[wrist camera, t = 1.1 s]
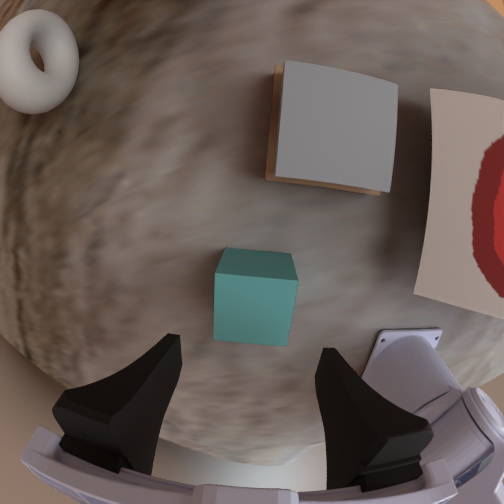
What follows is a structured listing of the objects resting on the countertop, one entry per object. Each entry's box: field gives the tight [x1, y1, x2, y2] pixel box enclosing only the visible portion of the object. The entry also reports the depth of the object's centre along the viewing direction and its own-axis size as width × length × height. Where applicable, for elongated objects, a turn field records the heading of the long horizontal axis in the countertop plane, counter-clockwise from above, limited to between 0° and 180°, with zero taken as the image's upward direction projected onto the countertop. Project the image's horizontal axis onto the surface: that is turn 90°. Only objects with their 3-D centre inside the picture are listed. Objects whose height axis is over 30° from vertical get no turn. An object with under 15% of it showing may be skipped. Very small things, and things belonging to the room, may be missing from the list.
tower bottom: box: [265, 65, 380, 196], centre depth 17 cm, size 8×8×2 cm
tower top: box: [274, 60, 398, 193], centre depth 15 cm, size 7×7×2 cm
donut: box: [0, 9, 79, 114], centre depth 11 cm, size 10×3×10 cm, turn 9°
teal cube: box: [213, 248, 298, 346], centre depth 20 cm, size 5×5×5 cm
